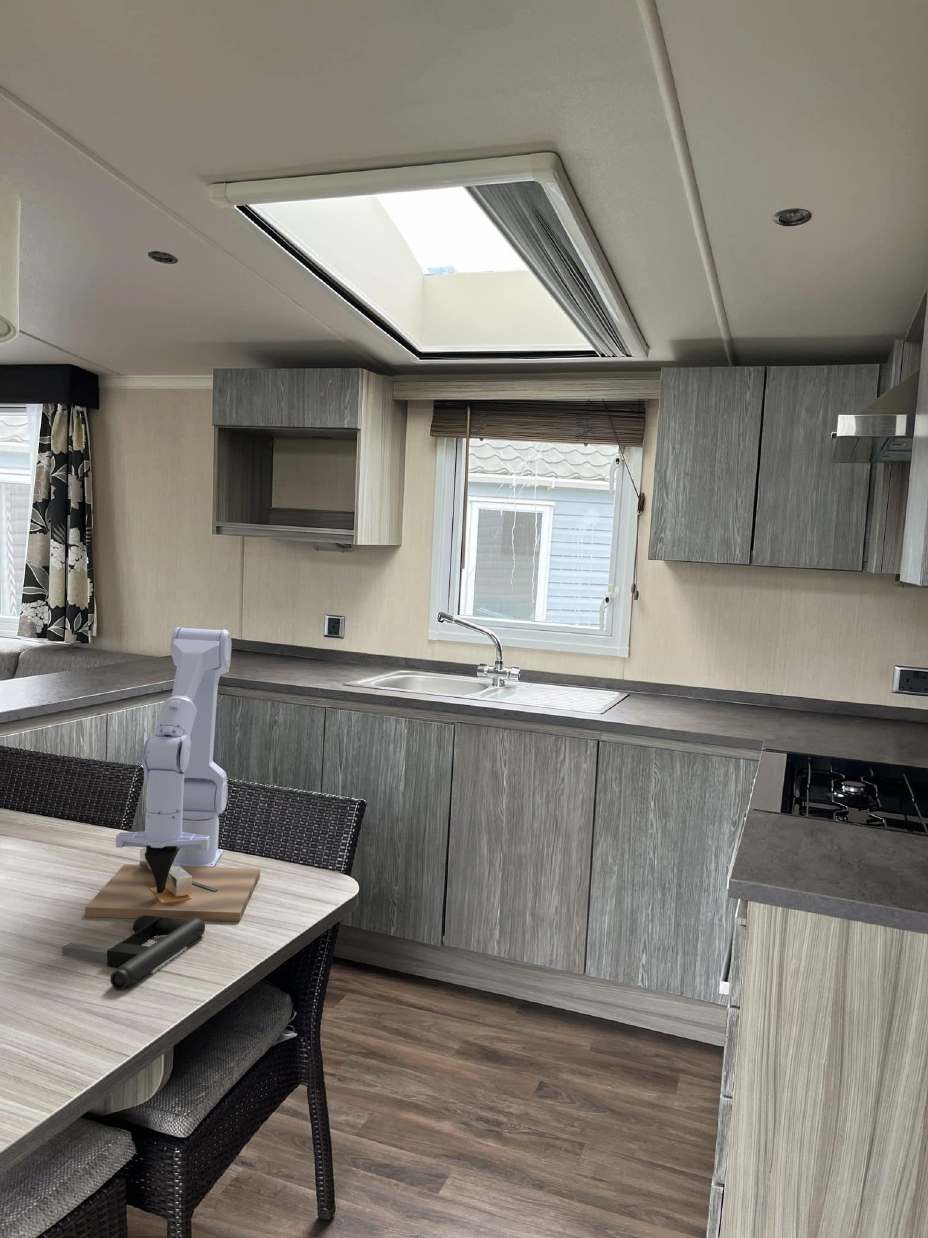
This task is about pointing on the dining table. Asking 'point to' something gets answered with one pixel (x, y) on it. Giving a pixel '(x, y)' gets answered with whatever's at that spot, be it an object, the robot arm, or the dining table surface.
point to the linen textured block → (172, 877)
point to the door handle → (141, 948)
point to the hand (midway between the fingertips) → (161, 891)
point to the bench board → (211, 897)
